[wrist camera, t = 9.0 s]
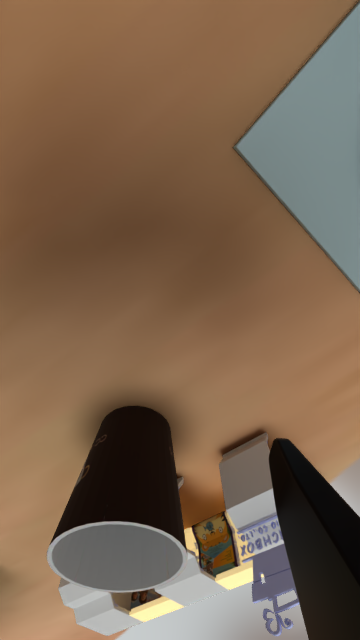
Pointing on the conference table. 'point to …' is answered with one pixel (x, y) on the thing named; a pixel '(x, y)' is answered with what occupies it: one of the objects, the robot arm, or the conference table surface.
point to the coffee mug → (123, 509)
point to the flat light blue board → (317, 146)
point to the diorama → (209, 554)
